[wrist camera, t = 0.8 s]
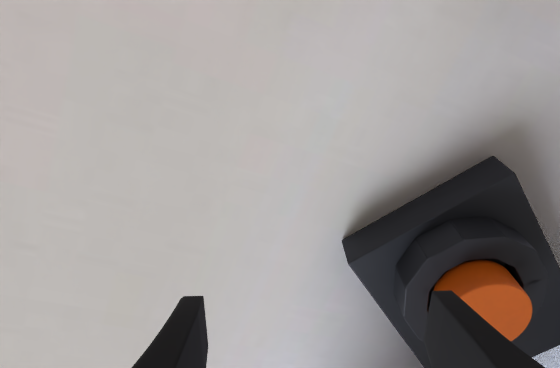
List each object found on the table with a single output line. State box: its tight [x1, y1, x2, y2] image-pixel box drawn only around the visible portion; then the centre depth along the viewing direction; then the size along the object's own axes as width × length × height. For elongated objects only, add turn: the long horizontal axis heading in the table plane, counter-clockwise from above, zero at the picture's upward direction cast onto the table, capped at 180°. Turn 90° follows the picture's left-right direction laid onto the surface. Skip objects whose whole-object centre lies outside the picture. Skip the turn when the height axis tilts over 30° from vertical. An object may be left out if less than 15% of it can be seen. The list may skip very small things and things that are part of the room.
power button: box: [433, 260, 532, 341], centre depth 21 cm, size 4×4×2 cm
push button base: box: [342, 156, 560, 368], centre depth 24 cm, size 12×9×4 cm
